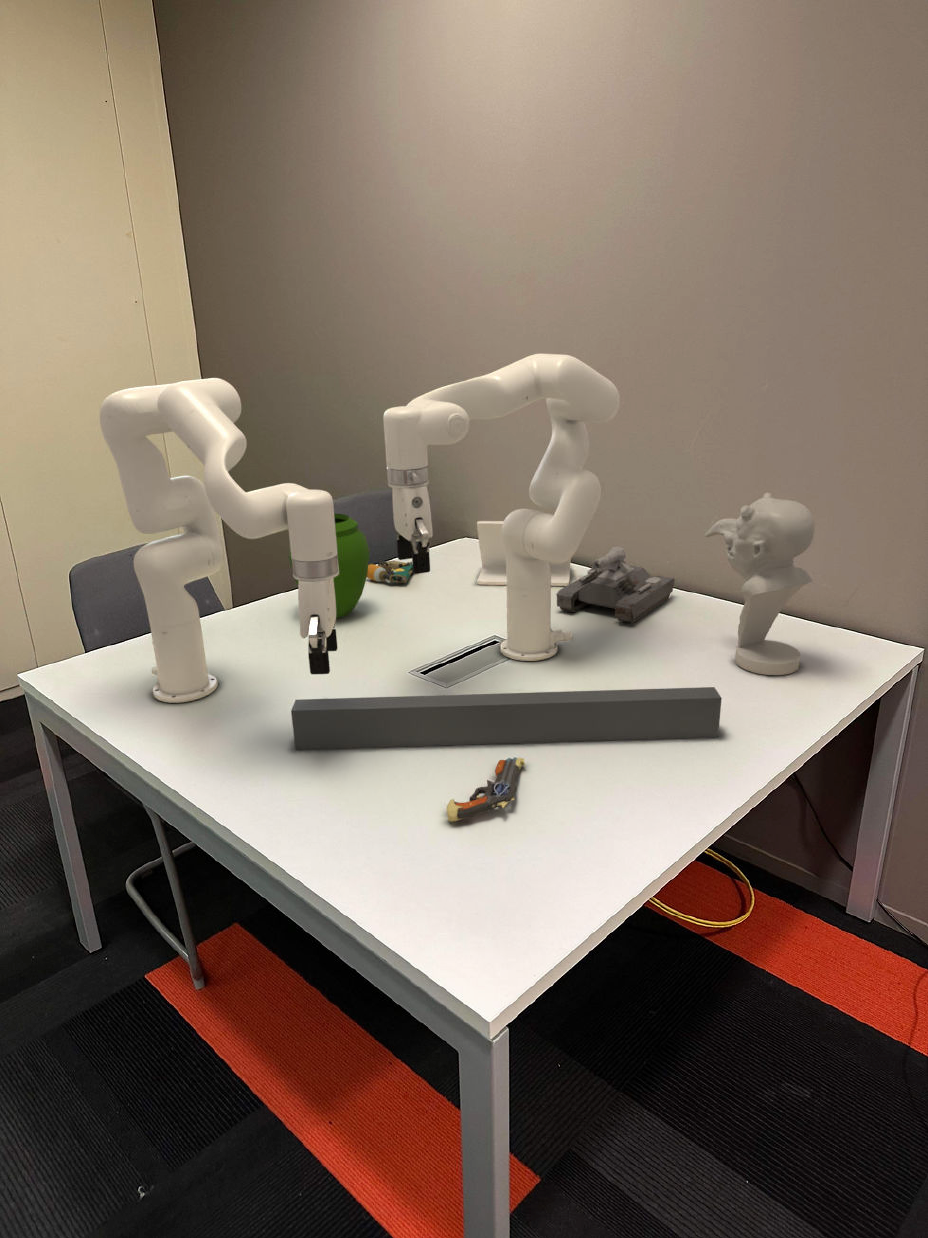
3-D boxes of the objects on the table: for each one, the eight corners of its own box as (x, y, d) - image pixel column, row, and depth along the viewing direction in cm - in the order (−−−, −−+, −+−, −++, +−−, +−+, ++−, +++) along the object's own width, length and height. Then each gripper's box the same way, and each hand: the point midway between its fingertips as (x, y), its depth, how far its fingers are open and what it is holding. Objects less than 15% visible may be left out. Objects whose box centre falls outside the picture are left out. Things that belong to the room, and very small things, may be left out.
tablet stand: (569, 585, 229) (570, 524, 223) (476, 584, 232) (475, 523, 226) (570, 566, 246) (571, 508, 240) (484, 564, 249) (483, 507, 243)
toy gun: (442, 810, 126) (509, 808, 124) (466, 754, 144) (524, 752, 142) (445, 827, 127) (511, 825, 125) (468, 769, 145) (526, 767, 142)
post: (711, 725, 154) (714, 686, 151) (718, 737, 150) (721, 697, 147) (299, 737, 154) (295, 699, 151) (295, 750, 150) (290, 710, 147)
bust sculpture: (735, 630, 196) (748, 478, 183) (821, 666, 176) (842, 499, 163) (681, 644, 189) (691, 488, 176) (764, 683, 169) (782, 510, 157)
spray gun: (385, 567, 251) (431, 574, 246) (355, 581, 237) (403, 588, 231) (385, 553, 250) (431, 560, 244) (355, 566, 236) (403, 573, 230)
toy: (603, 584, 229) (605, 530, 224) (673, 597, 218) (677, 540, 213) (555, 612, 210) (556, 553, 205) (630, 627, 199) (633, 566, 194)
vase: (389, 608, 216) (383, 514, 208) (339, 633, 201) (330, 533, 192) (330, 596, 226) (322, 506, 218) (278, 619, 211) (267, 523, 202)
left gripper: (301, 552, 148) (310, 643, 154) (282, 583, 132) (293, 683, 138) (344, 550, 148) (352, 642, 154) (331, 582, 132) (340, 682, 138)
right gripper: (443, 482, 150) (447, 575, 156) (413, 466, 165) (418, 551, 171) (402, 487, 147) (408, 581, 153) (375, 470, 162) (382, 556, 169)
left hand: (324, 661), depth 146 cm, fingers open, 9 cm apart
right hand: (413, 565), depth 162 cm, fingers open, 9 cm apart
